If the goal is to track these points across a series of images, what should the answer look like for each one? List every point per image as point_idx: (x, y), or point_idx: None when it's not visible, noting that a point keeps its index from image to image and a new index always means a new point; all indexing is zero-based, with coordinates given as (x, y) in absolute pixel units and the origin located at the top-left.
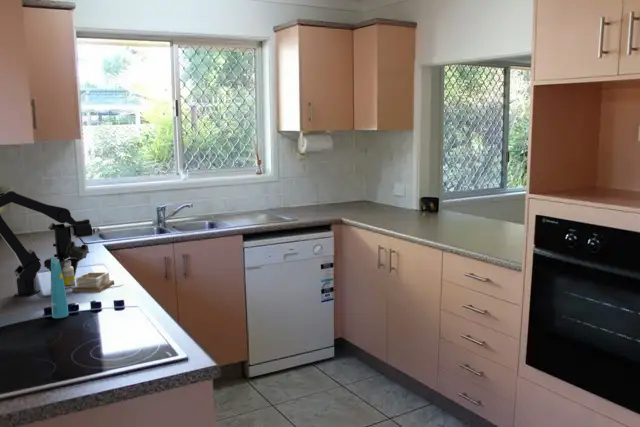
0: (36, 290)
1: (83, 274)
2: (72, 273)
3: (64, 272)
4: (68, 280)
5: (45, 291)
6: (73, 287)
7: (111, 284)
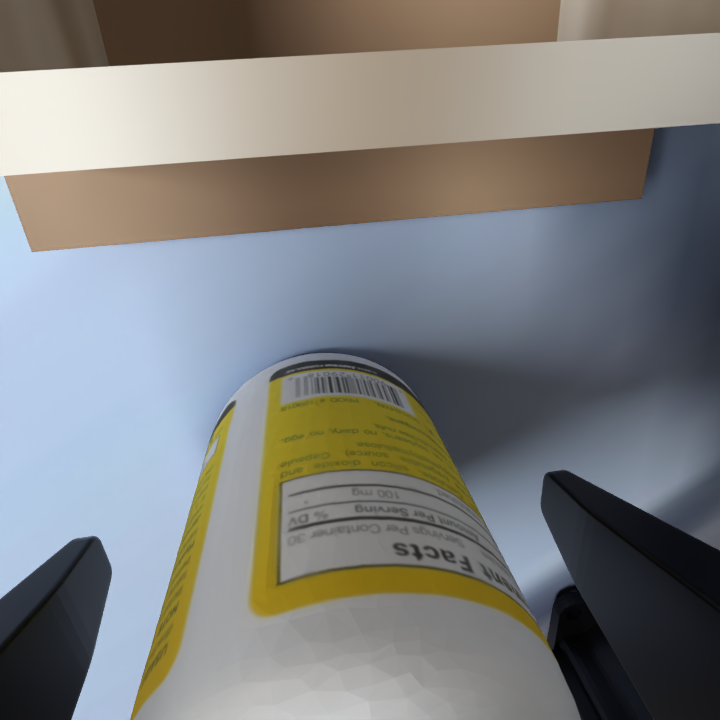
0: (585, 623)
1: (271, 147)
2: (358, 506)
3: (549, 648)
4: (433, 444)
5: (557, 547)
6: (590, 201)
7: None
